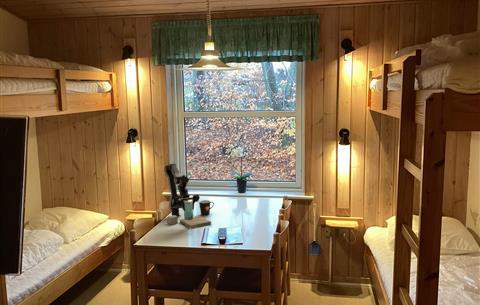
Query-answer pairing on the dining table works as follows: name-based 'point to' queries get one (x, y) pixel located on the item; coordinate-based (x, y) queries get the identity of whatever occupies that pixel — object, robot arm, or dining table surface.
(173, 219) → the grey block
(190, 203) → the teal tin
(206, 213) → the coffee mug
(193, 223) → the walnut board
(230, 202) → the dining table surface
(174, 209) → the robot arm
